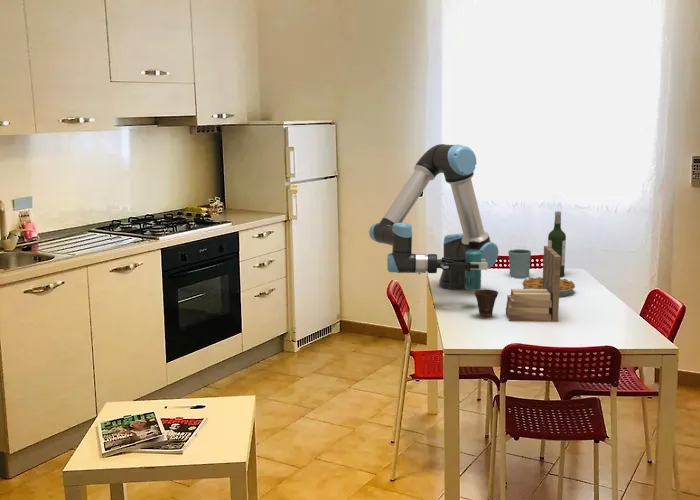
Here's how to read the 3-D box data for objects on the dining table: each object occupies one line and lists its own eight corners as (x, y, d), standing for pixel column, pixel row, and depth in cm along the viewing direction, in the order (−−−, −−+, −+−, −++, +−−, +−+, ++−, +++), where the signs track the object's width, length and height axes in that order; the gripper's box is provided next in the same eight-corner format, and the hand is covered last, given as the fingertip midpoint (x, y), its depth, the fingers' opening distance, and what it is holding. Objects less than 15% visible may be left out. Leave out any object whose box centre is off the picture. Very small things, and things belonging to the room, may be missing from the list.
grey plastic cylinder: (532, 278, 341) (533, 253, 338) (510, 278, 341) (510, 253, 339) (527, 274, 351) (528, 248, 348) (505, 274, 351) (506, 249, 349)
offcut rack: (501, 305, 295) (503, 245, 290) (546, 305, 294) (549, 245, 289) (509, 320, 273) (511, 256, 269) (558, 321, 272) (560, 256, 267)
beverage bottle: (482, 290, 294) (483, 240, 291) (479, 294, 288) (481, 243, 285) (465, 289, 296) (467, 239, 293) (462, 293, 290) (464, 242, 287)
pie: (524, 284, 330) (525, 273, 330) (576, 288, 323) (576, 276, 322) (518, 296, 310) (519, 284, 309) (573, 300, 303) (574, 288, 302)
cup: (484, 319, 273) (483, 292, 272) (469, 317, 281) (469, 290, 280) (503, 317, 277) (503, 290, 276) (488, 314, 285) (488, 288, 284)
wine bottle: (545, 273, 351) (548, 210, 345) (562, 274, 350) (565, 210, 344) (547, 277, 343) (550, 212, 338) (565, 277, 342) (568, 212, 337)
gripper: (425, 268, 302) (483, 268, 300) (427, 278, 283) (489, 279, 281) (426, 249, 300) (484, 250, 299) (427, 258, 282) (489, 259, 280)
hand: (486, 264), depth 290 cm, fingers closed on beverage bottle, 6 cm apart
